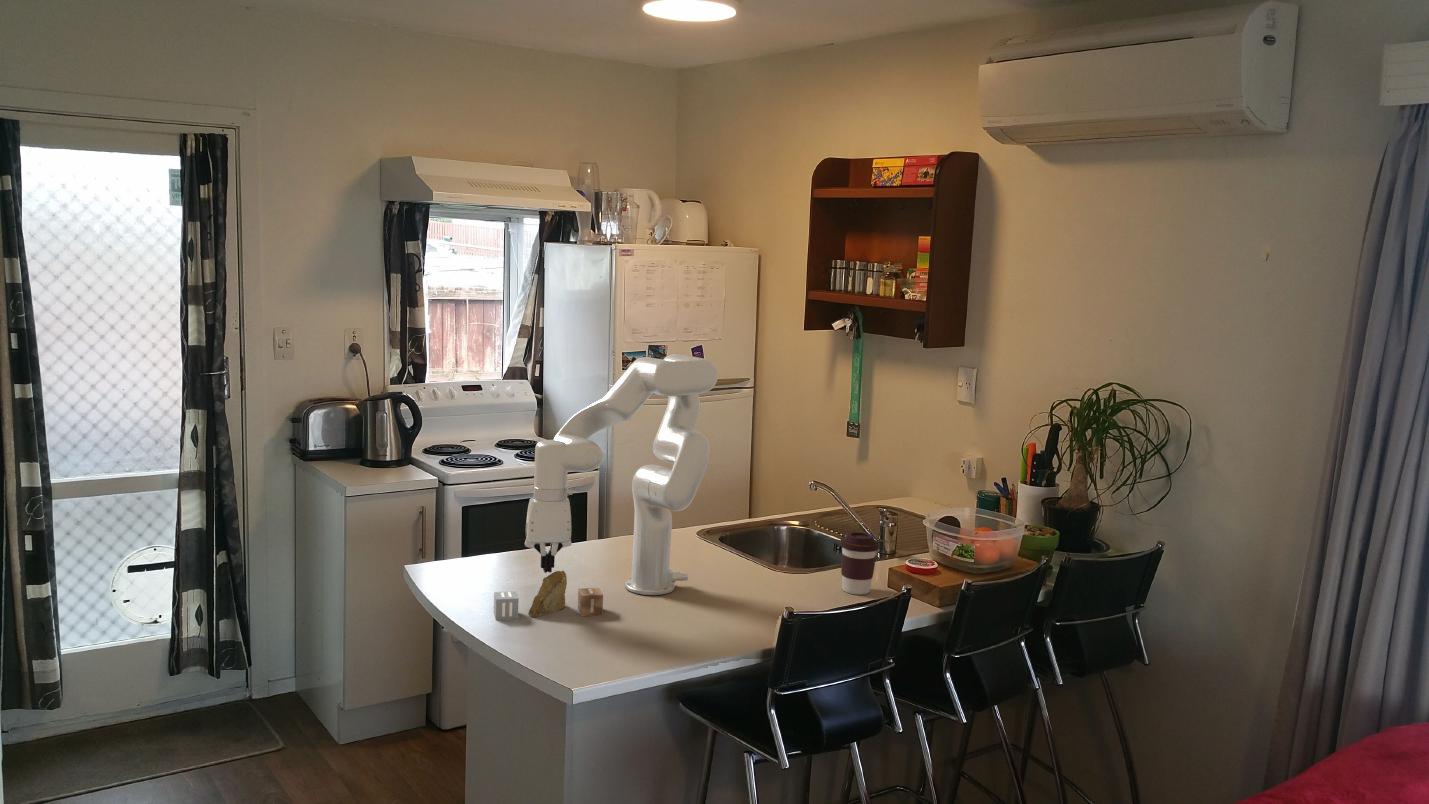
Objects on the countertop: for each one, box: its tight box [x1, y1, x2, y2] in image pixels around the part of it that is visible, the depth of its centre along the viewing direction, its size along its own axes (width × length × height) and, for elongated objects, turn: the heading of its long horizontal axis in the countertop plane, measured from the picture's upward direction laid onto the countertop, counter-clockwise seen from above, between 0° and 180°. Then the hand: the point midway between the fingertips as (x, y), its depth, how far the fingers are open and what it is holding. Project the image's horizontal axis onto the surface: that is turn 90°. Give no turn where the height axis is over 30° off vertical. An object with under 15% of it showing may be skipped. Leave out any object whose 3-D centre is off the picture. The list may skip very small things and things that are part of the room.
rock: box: [527, 570, 568, 618], centre depth 243 cm, size 11×9×10 cm
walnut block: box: [577, 587, 604, 617], centre depth 244 cm, size 5×5×5 cm
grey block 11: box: [493, 590, 520, 621], centre depth 238 cm, size 5×5×5 cm
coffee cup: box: [839, 531, 880, 596], centre depth 269 cm, size 10×10×15 cm
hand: (547, 570), depth 241 cm, fingers closed
